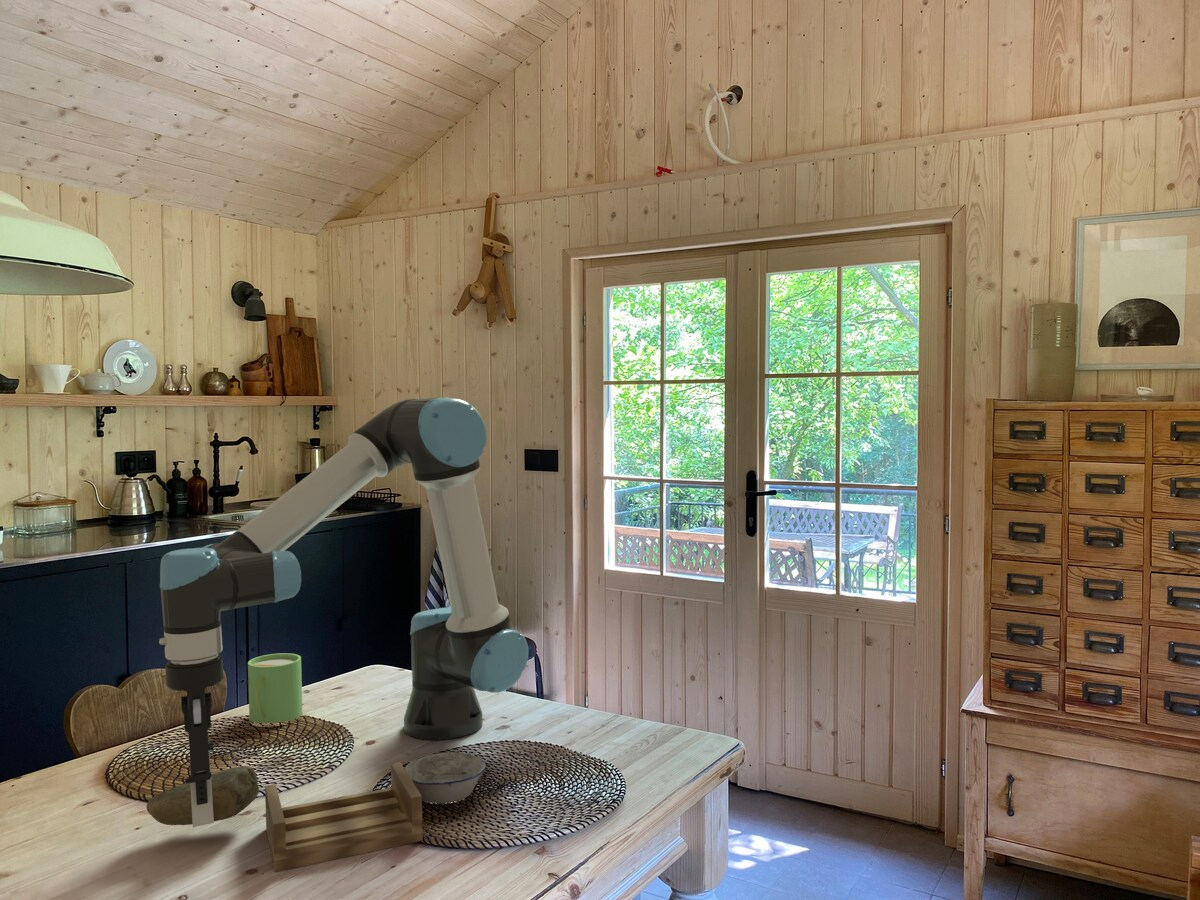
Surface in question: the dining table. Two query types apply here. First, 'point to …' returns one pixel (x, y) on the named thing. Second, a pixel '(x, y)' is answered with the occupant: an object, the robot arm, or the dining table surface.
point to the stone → (227, 793)
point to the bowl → (445, 775)
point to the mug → (275, 688)
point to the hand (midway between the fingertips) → (202, 810)
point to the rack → (344, 823)
